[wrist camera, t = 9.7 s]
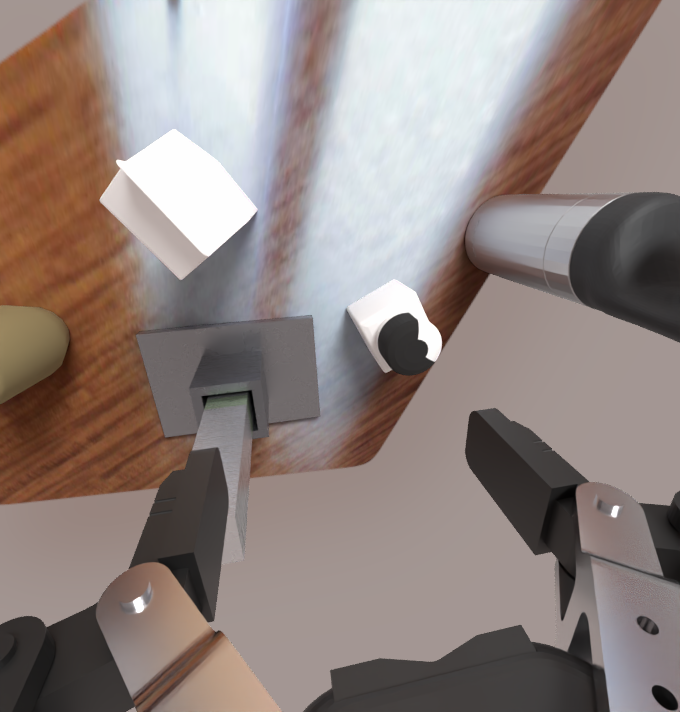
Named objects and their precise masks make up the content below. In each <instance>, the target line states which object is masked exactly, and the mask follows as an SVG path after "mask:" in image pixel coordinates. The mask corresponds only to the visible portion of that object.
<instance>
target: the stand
mask: <svg viewBox="0 0 680 712" xmlns="http://www.w3.org/2000/svg"><path fill="white" fill-rule="evenodd" d="M136 337H137V341H138V344H139V348H140V351H141V355H142V358H143V362H144V365H145V369H146V372H147V376H148V379H149V382H150V386H151V389H152V393H153V396H154V400H155V403H156V407H157V410H158V414H159V417H160V421H161V424H162V428H163V431H164V435H165V437H172V436H179V435H187V434H194V433H197V432H198V429H199V426H200V422H201V419H202V416H203V412H204V409H205V406H206V402H207V399H208V396H209V395H214V394H222V393H231V392H239V391H247V390H249V392H250V398H251V404H252V410H253V416H254V419H253V434H252V439H256V438H263V437H269V423H275V422H282V421H290V420H297V419H304V418H312V417H319V416H320V408H319V395H318V382H317V369H316V356H315V343H314V329H313V318H312V315H307V316H296V317H286V318H275V319H265V320H254V321H243V322H233V323H222V324H212V325H201V326H191V327H180V328H169V329H159V330H148V331H139V332H138V333H137V334H136Z"/></svg>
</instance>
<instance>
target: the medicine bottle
mask: <svg viewBox="0 0 680 712" xmlns="http://www.w3.org/2000/svg"><path fill="white" fill-rule="evenodd" d="M347 311H348V313H349V315H350V317H351V318H352V320H353V322H354V324H355V326H356V327H357V329H358V331H359V333H360V335H361V336H362V338H363V340H364V342H365V344H366V345H367V347H368V349H369V351H370V352H371V354H372V355H373V357H374V358H375V360H376V361H377V363H378V364H379V366H380V367H381V369H382V370H383V371H384V372H385V373H387V372H389V371H391V370H393V371H395V372H396V373H399V374H402V375H416V374H419V373H422V372H424V371H426V370H427V369H428V368H430V367H431V366H432V365H433V364H434V363H435V361H436V360H437V358H438V357H439V354H440V352H441V347H442V339H441V335H440V333H439V331H438V329H437V328H436V327H435V326H434V325H433V324H431V323H430V322H429V321H428V318H427V316H426V314H425V312H424V310H423V307H422V305H421V303H420V301H419V298H418V296H417V294H416V292H415V291H413V290H411V289H410V288H408V287H407V286H405V285H404V284H402V283H400V282H399V281H397V280H395V279H394V280H392V281H390V282H388V283H387V284H385V285H383V286H381V287H380V288H378V289H376V290H375V291H373V292H371V293H369V294H368V295H366V296H364V297H363V298H361V299H359V300H357V301H356V302H354V303H352V304H351V305H349V306H347Z"/></svg>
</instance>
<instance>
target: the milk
mask: <svg viewBox="0 0 680 712" xmlns="http://www.w3.org/2000/svg"><path fill="white" fill-rule="evenodd" d="M116 163H117V164H118V166H119V167H120V168H121V169H120V170H119V172H118V173H117V174H116V176H115V177H114V179H113V180H112V182H111V183H110V185H109V186H108V188H107V189H106V191H105V192H104V193H103V195H102V196H101V198H100V202H101V203H102V204H103V205H104V206H105V207H106V208H107V209H108V210H109V211H110V212H111V213H112V214H113V215H114V216H115V217H116V218H117V219H118V220H119V221H120V222H121V223H122V224H123V225H124V226H125V227H126V228H127V229H128V230H130V231H131V232H132V233H133V234H134V235H135V236H136V237H137V238H138V239H139V240H140V241H141V242H142V243H143V244H144V245H145V246H146V247H147V248H148V249H149V250H150V251H151V252H152V253H153V254H154V255H155V256H156V257H157V258H158V259H159V260H160V261H161V262H162V263H163V264H164V265H165V266H166V267H167V268H168V269H169V270H170V271H171V272H172V273H173V274H175V275H176V276H177V277H178V278H179V279H180V280H182V279H184V278H185V277H186V276H187V275H188V274H189V273H191V272H192V271H193V270H194V269H195V268H196V267H197V266H199V265H200V264H201V263H202V262H203V261H204V260H205V259H207V258H208V257H209V256H210V255H211V254H212V253H213V252H215V251H216V250H217V249H218V248H219V247H220V246H221V245H222V244H224V243H225V242H226V241H227V240H228V239H229V238H230V237H231V236H233V235H234V234H235V233H236V232H237V231H238V230H239V229H240V228H241V227H243V226H244V225H245V224H246V223H247V222H248V221H249V220H250V219H251V218H252V217H253V215H254V214H255V213H256V212H257V211H258V209H257V208H256V207H255V206H254V204H253V203H252V202H251V201H250V199H249V198H248V197H247V196H246V195H245V193H244V192H243V191H242V190H241V188H240V187H239V186H238V185H237V184H236V182H235V181H234V180H233V179H232V178H231V176H230V175H229V174H228V173H227V171H226V170H225V169H224V168H223V167H222V165H221V164H220V163H219V162H218V161H217V160H216V159H215V158H213V157H212V156H211V155H209V154H208V153H206V152H205V151H204V150H202V149H201V148H200V147H198V146H197V145H196V144H194V143H193V142H192V141H190V140H189V139H188V138H186V137H185V136H184V135H182V134H181V133H180V132H178V131H177V130H175V129H173V130H171V131H170V132H168V133H167V134H165V135H164V136H163V137H161V138H160V139H158V140H157V141H155V142H154V143H152V144H151V145H149V146H148V147H146V148H145V149H144V150H142V151H141V152H139V153H138V154H136V155H135V156H133V157H132V158H130V159H129V160H127V161H121V160H117V161H116Z"/></svg>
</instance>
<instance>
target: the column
mask: <svg viewBox="0 0 680 712" xmlns="http://www.w3.org/2000/svg"><path fill="white" fill-rule="evenodd" d="M253 419H254V416H253V410H252V404H251V398H250V392H249V390H247V391H239V392H231V393H222V394H214V395H209V396H208V399H207V402H206V406H205V409H204V412H203V416H202V419H201V422H200V426H199V429H198V432H197V436H196V439H195V442H194V446H193V449H192V451H193V450H200V449H207V448H214V447H218V448H219V451H220V455H221V459H222V464H223V468H224V473H225V478H226V482H227V487H228V496H229V508H228V516H227V524H226V532H225V539H224V547H223V555H222V563H221V564H227V563H232V562H238V561H243V560H244V554H245V540H246V525H247V510H248V495H249V479H250V464H251V449H252V434H253Z"/></svg>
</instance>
